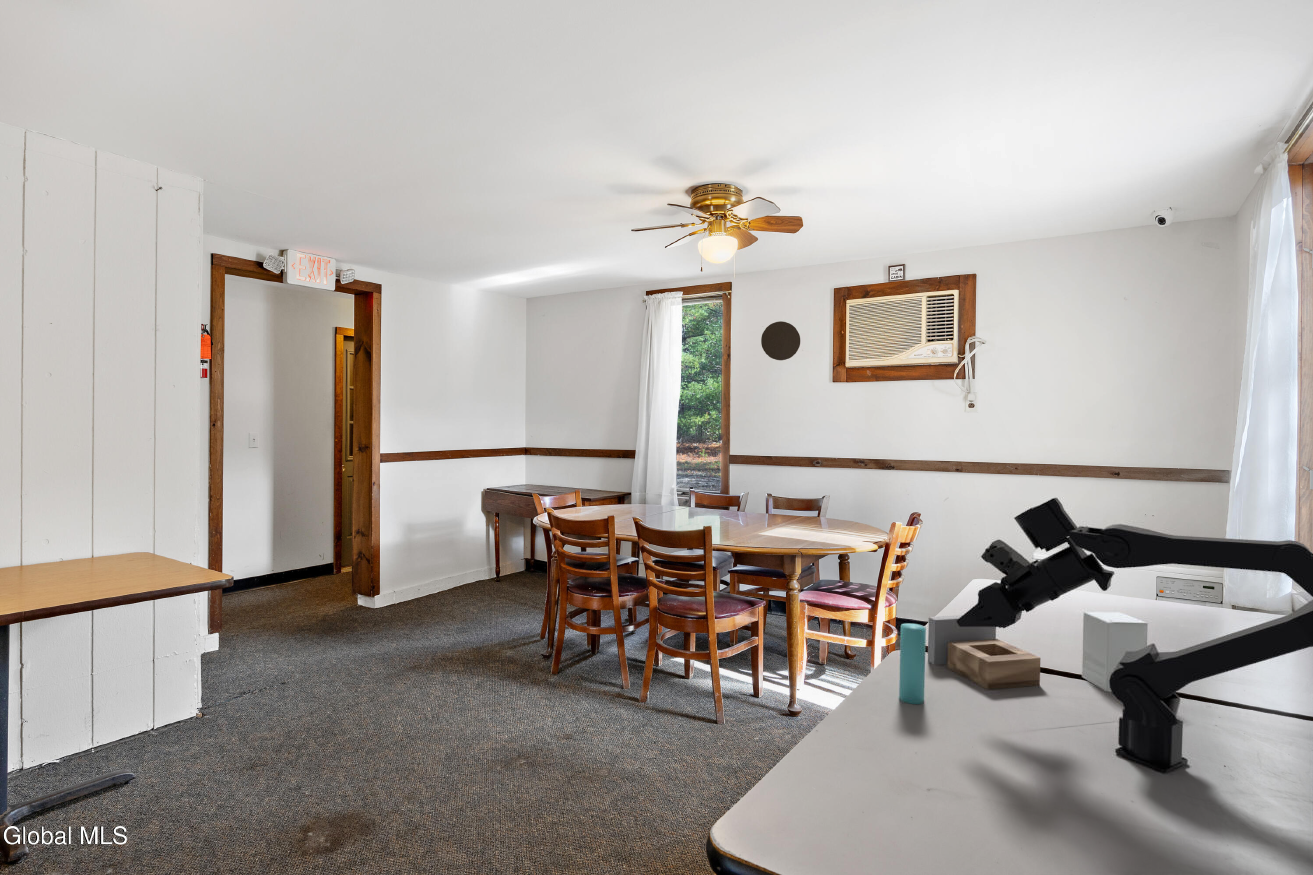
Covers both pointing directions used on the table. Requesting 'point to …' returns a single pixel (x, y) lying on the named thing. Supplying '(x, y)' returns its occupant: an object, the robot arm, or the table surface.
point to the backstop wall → (951, 636)
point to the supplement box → (1109, 643)
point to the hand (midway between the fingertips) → (967, 617)
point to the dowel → (912, 663)
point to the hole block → (994, 664)
